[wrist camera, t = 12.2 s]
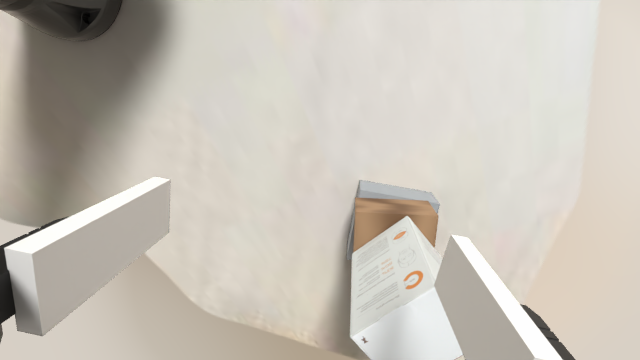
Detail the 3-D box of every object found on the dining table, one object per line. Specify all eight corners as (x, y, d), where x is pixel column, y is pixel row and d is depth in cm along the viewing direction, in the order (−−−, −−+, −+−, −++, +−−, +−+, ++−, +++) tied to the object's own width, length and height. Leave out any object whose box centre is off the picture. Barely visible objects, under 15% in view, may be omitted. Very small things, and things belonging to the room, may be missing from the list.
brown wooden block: (352, 260, 42) (352, 281, 37) (355, 197, 40) (355, 211, 35) (420, 264, 41) (429, 287, 36) (428, 200, 39) (438, 216, 34)
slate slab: (347, 241, 47) (346, 258, 42) (359, 179, 44) (360, 189, 39) (413, 254, 46) (420, 273, 41) (430, 191, 43) (440, 204, 39)
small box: (384, 291, 37) (397, 392, 25) (350, 253, 36) (346, 337, 24) (442, 254, 35) (488, 345, 23) (408, 213, 34) (437, 283, 22)
